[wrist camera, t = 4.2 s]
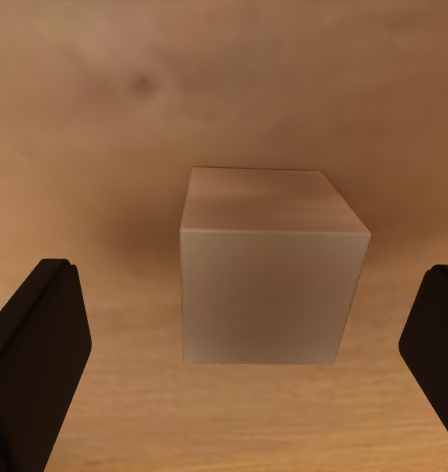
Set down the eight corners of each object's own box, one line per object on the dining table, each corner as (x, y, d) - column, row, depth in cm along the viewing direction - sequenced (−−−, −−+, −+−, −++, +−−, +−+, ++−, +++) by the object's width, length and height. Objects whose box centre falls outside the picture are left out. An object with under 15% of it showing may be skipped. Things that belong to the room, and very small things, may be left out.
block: (322, 170, 12) (373, 234, 8) (302, 275, 14) (334, 366, 10) (191, 166, 12) (179, 228, 8) (192, 273, 14) (183, 364, 10)
